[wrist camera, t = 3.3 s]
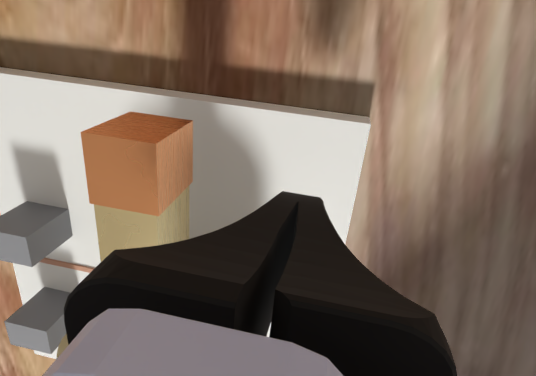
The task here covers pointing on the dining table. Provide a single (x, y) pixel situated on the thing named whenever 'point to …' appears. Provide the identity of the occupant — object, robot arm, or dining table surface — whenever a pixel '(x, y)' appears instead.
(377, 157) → the dining table surface
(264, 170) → the base
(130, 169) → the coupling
